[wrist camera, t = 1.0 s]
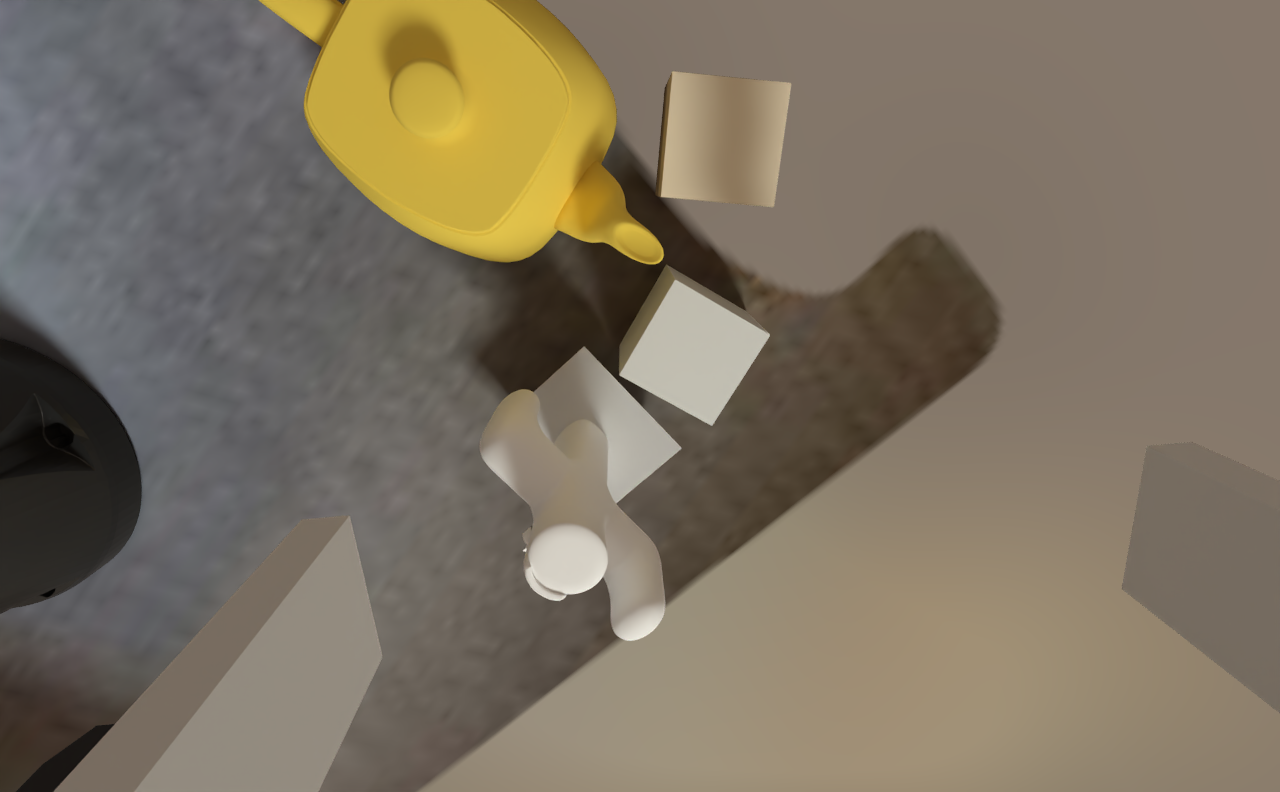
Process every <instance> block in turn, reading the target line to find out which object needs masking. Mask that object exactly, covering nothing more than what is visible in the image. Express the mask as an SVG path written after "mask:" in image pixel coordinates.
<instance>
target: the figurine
mask: <svg viewBox="0 0 1280 792" xmlns="http://www.w3.org/2000/svg"><path fill="white" fill-rule="evenodd" d="M680 449H682V448H681V447H680V446H679V445H678V444H677V443H676V442H675V441H674V440H673V439H672V438H671V437H670V435H669V434H668V433H667V432H666V431H665V430H664V429H663V428H662V427H661V426H660V425H659V424H658V423H657V422H656V421H655V420H654V419H653V418H652V417H651V416H650V415H649V414H648V412H647V411H646V410H645V409H644V408H643V407H642V406H641V405H640V404H639V403H638V402H637V401H636V400H635V399H634V398H633V397H632V396H631V395H630V394H629V393H628V392H627V391H626V389H625V388H624V387H623V386H622V385H621V384H620V383H619V382H618V381H617V380H616V379H615V378H614V377H613V376H612V375H611V374H610V373H609V372H608V371H607V370H606V369H605V368H604V366H603V365H602V364H601V363H600V362H599V361H598V360H597V359H596V358H595V357H594V356H593V355H592V354H591V353H590V352H589V351H588V350H587V349H586V348H585V347H583V348H582V349H581V350H579V351H578V352H577V353H576V354H575V355H574V356H573V357H572V358H571V359H570V360H568V361H567V362H566V363H565V364H564V365H563V366H562V367H561V368H560V369H558V370H557V371H556V372H555V373H554V374H553V375H552V376H551V377H550V378H549V379H547V380H546V381H545V382H544V383H543V384H542V385H541V386H540V387H539V388H537V389H536V390H535V391H534V392H532V391H530V390H526V389H521V390H517V391H515V392H513V393H511V394H509V395H508V396H507V397H506V398H504V399H503V400H502V401H501V403H500V404H499V405H498V407H497V408H496V410H495V412H494V413H493V415H492V417H491V419H490V421H489V422H488V424H487V426H486V428H485V430H484V432H483V434H482V437H481V440H480V453H481V456H482V458H483V460H484V461H485V463H486V464H487V465H488V466H489V467H490V469H491V470H492V471H494V472H495V473H496V474H497V475H498V476H499V477H500V478H501V479H502V480H503V481H504V482H505V483H506V484H507V485H508V486H510V487H511V488H512V489H513V490H514V491H515V492H516V493H517V494H518V495H519V496H520V497H521V498H522V499H523V500H525V501H526V502H527V503H528V504H529V506H530V508H531V511H532V514H533V521H534V522H533V525H532V526H531V527H530V528H529V529H527V530H526V531H525V532H524V533H523V535H522V536H523V540H524V542H525V543H526V545H527V546H526V547H525V548H524V549H523V551H525V552H526V554H525V558H524V562H523V568H524V573H525V577H526V579H527V581H528V583H529V585H530V586H531V588H532V589H533V590H534V591H535V592H537V593H538V594H539V595H541V596H543V597H545V598H547V599H550V600H555V601H559V600H562V599H563V598H565V597H566V595H567V594H577V593H581V592H584V591H586V590H588V589H590V588H592V587H593V586H595V585H596V584H597V583H598V582H599V581H600V580H601V578H602V577H604V579H605V582H606V584H607V586H608V590H609V595H610V602H611V625H612V628H613V631H614V632H615V634H616V635H617V636H618V637H620V638H621V639H624V640H628V641H633V640H637V639H640V638H643V637H645V636H646V635H648V634H649V633H651V632H652V631H653V630H654V629H655V628H656V627H657V626H658V624H659V623H660V621H661V620H662V618H663V615H664V612H665V595H664V586H663V577H662V568H661V561H660V556H659V553H658V550H657V548H656V546H655V545H654V543H653V542H652V540H651V539H650V538H649V537H648V536H647V535H646V534H645V533H644V532H643V531H642V530H641V529H640V528H639V527H638V526H637V525H636V524H635V523H634V522H633V521H632V520H631V519H630V518H629V517H628V516H627V515H626V514H625V513H624V512H623V511H622V510H621V509H620V508H619V507H618V506H617V504H616V503H617V502H618V501H619V500H621V499H622V498H623V497H624V496H625V495H627V494H628V493H629V492H630V491H631V490H633V489H634V488H635V487H636V486H637V485H639V484H640V483H641V482H642V481H643V480H644V479H646V478H647V477H648V476H649V475H650V474H652V473H653V472H654V471H655V470H656V469H658V468H659V467H660V466H661V465H662V464H664V463H665V462H666V461H667V460H668V459H670V458H671V457H672V456H673V455H674V454H676V453H677V452H678V451H679V450H680Z"/></svg>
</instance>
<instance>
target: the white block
mask: <svg viewBox="0 0 1280 792" xmlns="http://www.w3.org/2000/svg"><path fill="white" fill-rule="evenodd" d="M769 336H770V334H769V333H768V332H767V331H766V330H765V329H764V328H763V327H762V326H761V325H760V324H759V323H758V322H757V321H756V320H755V319H754V318H753V317H752V316H751V315H750V314H749V313H748V312H747V311H745V310H743V309H742V308H740V307H738V306H736V305H735V304H733V303H731V302H730V301H728V300H726V299H724V298H723V297H721V296H719V295H718V294H716V293H714V292H713V291H711V290H709V289H707V288H706V287H704V286H702V285H701V284H699V283H697V282H696V281H694V280H692V279H690V278H689V277H687V276H685V275H684V274H682V273H680V272H678V271H677V270H675V269H673V268H672V267H670V266H668V265H667V264H666V266H665V267H664V269H663V271H662V273H661V274H660V276H659V278H658V279H657V281H656V283H655V285H654V286H653V288H652V290H651V292H650V293H649V295H648V297H647V298H646V300H645V302H644V304H643V305H642V307H641V309H640V311H639V312H638V314H637V316H636V317H635V319H634V321H633V323H632V324H631V326H630V328H629V330H628V331H627V333H626V335H625V336H624V338H623V340H622V342H621V343H620V345H619V375H620V376H621V377H623V378H625V379H627V380H629V381H631V382H632V383H634V384H636V385H638V386H640V387H642V388H643V389H645V390H647V391H649V392H651V393H653V394H654V395H656V396H658V397H660V398H662V399H664V400H665V401H667V402H669V403H671V404H673V405H675V406H676V407H678V408H680V409H682V410H684V411H686V412H687V413H689V414H691V415H693V416H695V417H697V418H699V419H700V420H702V421H704V422H706V423H708V424H710V425H711V426H712V425H713V423H714V422H715V420H716V419H717V417H718V416H719V414H720V413H721V411H722V409H723V408H724V406H725V405H726V403H727V402H728V400H729V399H730V397H731V395H732V394H733V392H734V391H735V389H736V388H737V386H738V385H739V383H740V381H741V380H742V378H743V377H744V375H745V374H746V372H747V371H748V369H749V367H750V366H751V364H752V363H753V361H754V360H755V358H756V356H757V355H758V353H759V352H760V350H761V349H762V347H763V346H764V344H765V342H766V341H767V339H768V338H769Z"/></svg>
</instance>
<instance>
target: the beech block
mask: <svg viewBox="0 0 1280 792" xmlns="http://www.w3.org/2000/svg"><path fill="white" fill-rule="evenodd" d="M790 89H791V83H785V82H774V81H764V80H755V79H744V78H734V77H725V76H715V75H705V74H695V73H685V72H675V71H672V73H671V76H670V78H669V80H668V82H667V84H666V87H665V92H664V104H663V114H662V125H661V136H660V148H659V160H658V170H657V181H656V193H655V195H656V196H659V197H667V198H678V199H689V200H701V201H711V202H722V203H735V204H745V205H756V206H768V207H774V202H775V195H776V188H777V181H778V174H779V167H780V160H781V153H782V146H783V139H784V132H785V125H786V118H787V111H788V103H789V97H790Z"/></svg>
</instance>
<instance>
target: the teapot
mask: <svg viewBox="0 0 1280 792" xmlns="http://www.w3.org/2000/svg"><path fill="white" fill-rule="evenodd" d="M259 1H260V2H261V3H263V4H264V5H265V6H267V7H268V8H269V9H270V10H272V11H273V12H274V13H276V14H277V15H279V16H280V17H281V18H283V19H284V20H285V21H287V22H288V23H289V24H291V25H292V26H293V27H295V28H296V29H297V30H299V31H300V32H302V33H303V34H304V35H306V36H307V37H308V38H310V39H311V40H313V41H314V42H315V43H317V44H318V45H319V46H321V47H322V49H321V51H320V53H319V56H318V58H317V61H316V63H315V66H314V69H313V71H312V74H311V76H310V79H309V82H308V86H307V89H306V92H305V98H304V112H305V118H306V120H307V123H308V125H309V128H310V130H311V132H312V134H313V136H314V138H315V139H316V141H317V142H318V144H319V146H320V147H321V149H322V150H323V151H324V153H325V154H326V155H327V156H328V157H329V159H330V160H331V161H332V162H333V163H334V165H335V166H336V167H337V168H338V169H339V170H340V171H341V172H342V173H343V174H344V175H345V176H346V177H347V178H348V179H349V181H350V182H351V183H352V184H353V185H354V186H356V187H357V188H358V189H359V190H360V191H361V192H362V193H363V194H364V195H365V196H366V197H367V198H368V199H369V200H371V201H372V202H373V203H374V204H375V205H377V206H378V207H379V208H380V209H381V210H383V211H384V212H385V213H387V214H388V215H390V216H391V217H392V218H394V219H395V220H397V221H398V222H399V223H401V224H402V225H404V226H406V227H407V228H409V229H411V230H412V231H414V232H416V233H417V234H419V235H421V236H423V237H425V238H427V239H429V240H431V241H433V242H436V243H438V244H441V245H443V246H445V247H448V248H450V249H453V250H456V251H459V252H461V253H464V254H467V255H470V256H473V257H477V258H481V259H484V260H488V261H496V262H514V261H520V260H522V259H525V258H527V257H530V256H532V255H533V254H534V253H536V252H537V251H539V250H540V249H541V248H543V247H544V246H545V244H546V243H547V242H548V241H549V240H550V239H551V238H552V237H553V236H554V234H555V233H556V232H557V231H558V230H559V231H562V232H564V233H566V234H568V235H570V236H572V237H574V238H576V239H579V240H582V241H585V242H590V243H596V242H605V243H607V244H609V245H611V246H612V247H614V248H615V249H617V250H618V251H620V252H621V253H623V254H624V255H626V256H628V257H630V258H632V259H634V260H636V261H639V262H641V263H646V264H657V263H659V262H660V261H661V260H662V259H663V256H664V252H663V248H662V246H661V244H660V242H659V241H658V240H657V238H656V237H655V236H654V235H653V234H652V233H651V232H650V231H649V230H648V229H647V228H645V227H644V226H643V225H642V224H640V223H639V222H638V221H636V220H635V219H634V218H633V217H632V216H631V215H630V214H629V213H628V212H627V209H626V203H625V196H624V193H623V190H622V188H621V186H620V185H619V183H618V182H617V181H616V179H615V178H614V177H613V176H612V175H611V174H610V173H609V172H608V171H607V170H606V169H605V168H604V167H603V166H602V165H601V163H602V161H603V159H604V157H605V155H606V153H607V150H608V148H609V146H610V143H611V141H612V139H613V136H614V132H615V127H616V123H617V109H616V105H615V100H614V95H613V93H612V90H611V88H610V86H609V84H608V82H607V79H606V78H605V77H604V75H603V74H602V72H601V70H600V69H599V68H598V66H597V64H596V63H595V62H594V60H593V59H592V58H591V56H590V55H589V54H588V52H587V51H586V50H585V48H584V47H583V46H582V45H581V44H580V42H579V41H578V40H577V39H576V38H575V36H574V35H573V34H572V33H571V32H570V31H569V30H568V29H567V28H566V27H565V26H564V25H563V24H562V23H561V22H560V21H559V20H558V19H557V18H556V17H555V16H554V15H553V14H552V13H551V12H550V11H549V10H547V9H546V8H545V7H544V6H543V5H541V4H540V3H539V2H538V1H537V0H346V2H345V3H344V5H343V4H342V3H340V2H339V1H337V0H259Z"/></svg>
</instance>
